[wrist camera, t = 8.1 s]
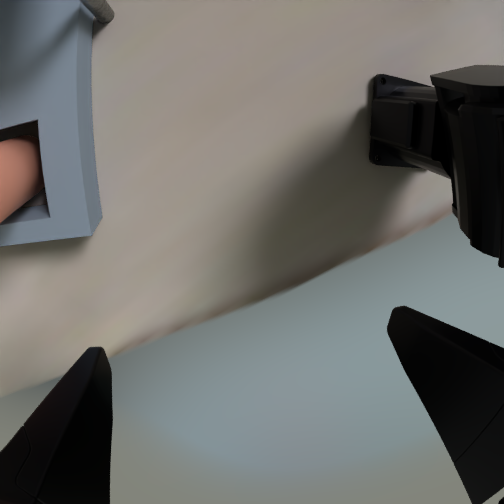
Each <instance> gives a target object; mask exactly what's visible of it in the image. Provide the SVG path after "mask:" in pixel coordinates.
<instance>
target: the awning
mask: <svg viewBox="0 0 504 504" xmlns="http://www.w3.org/2000/svg"><path fill="white" fill-rule="evenodd" d="M0 1H2V0H0ZM79 1H80V2H81V3H82V4H83V5H84V6H85V7H86V8H87V9H88V10H89V11H90V12H91V13H92V14H93V15H94V16H95V17H96V18H97V20H98V21H99V22H101V23H108V22H110V21H111V20H112V19H113V18H114V11H113V10H112V8H111V7H110V6H109V4H108V3H107V1H106V0H79Z"/></svg>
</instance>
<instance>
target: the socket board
mask: <svg viewBox="0 0 504 504" xmlns="http://www.w3.org/2000/svg"><path fill="white" fill-rule="evenodd" d="M93 16H94V15H93V14H92V13H91V12H90V11H89V10H88V9H87V8H86V7H85V6H84V5H83V4H82V3H81V2H80V1H79V0H2V1H0V130H4V129H7V128H11V127H15V126H18V125H22V124H26V123H30V122H34V121H38V128H39V141H40V151H41V160H42V168H43V176H44V183H45V189H46V195H47V201H48V204H46V205H40V206H33V207H27V208H21V209H17V210H16V211H14V212H13V213H12V214H11V215H9V216H8V217H7V218H6V219H5V220H3V221H2V222H1V223H0V247H1V246H8V245H16V244H24V243H32V242H40V241H49V240H57V239H66V238H75V237H84V236H92V234H93V232H94V231H95V229H96V227H97V226H98V224H99V222H100V220H101V219H102V211H101V204H100V197H99V189H98V181H97V172H96V162H95V151H94V138H93V121H92V95H91V57H92V31H93Z"/></svg>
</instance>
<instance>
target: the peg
mask: <svg viewBox="0 0 504 504" xmlns="http://www.w3.org/2000/svg"><path fill="white" fill-rule="evenodd" d="M44 186H45V183H44V176H43V168H42V160H41V151H40V141H39V139H38V138H36V137H33V136H30V135H23V136H19V137H15V138H12V139H8V140H5V141H2V142H0V223H1V222H2V221H3V220H5V219H6V218H7V217H8V216H9V215H11V214H12V213H13V212H14V211H16V210H17V209H18V208H19V207H20V206H22V205H23V204H24V203H26V202H27V201H28V200H29V199H31V198H32V197H33V196H35V195H36V194H37V193H39V192H40V191H41V190H42V189H43V188H44Z"/></svg>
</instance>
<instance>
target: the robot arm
mask: <svg viewBox="0 0 504 504" xmlns="http://www.w3.org/2000/svg"><path fill="white" fill-rule="evenodd" d="M381 78H382V80H383V83H382V84H381V82H380V79H381ZM430 78H431V81H432V85H434V86H435V87H431V86H427V85H424V84H420V83H417V82H413V81H409V80H406V79H402V78H398V77H393V76H389V75H385V74H377V75H376V76H375V77H374V93H373V101H372V116H371V131H370V135H371V143H370V155H369V159H370V162H371V163H372V164H375V165H382V166H398V167H412V168H423V169H426V170H429V171H431V172H434V173H436V174H439V175H442V176H444V177H447V178H449V179H451V183H452V193H453V204H452V212H453V214H454V215H455V216H456V217H457V218H458V221H459V225H460V229H461V230H462V231H463V232H464V234H465V235H466V236H467V237H468V238H469V239H470V245H471V246H472V247H474V248H476V249H477V250H479V251H481V252H482V253H484V254H487V255H490V256H492V257H496V258H499V261H498V266H499V267H501V268H504V66H499V65H474V66H469V67H464V68H459V69H455V70H450V71H446V72H442V73H438V74H434V75H430ZM377 155H378V159H377V160H375V157H376V156H377ZM387 332H388V335H389V337H390V340H391V342H392V344H393V346H394V348H395V350H396V353H397V355H398V357H399V359H400V362H401V364H402V366H403V368H404V370H405V372H406V374H407V376H408V378H409V379H410V381H411V383H412V385H413V386H414V388H415V390H416V392H417V394H418V395H419V397H420V399H421V401H422V403H423V405H424V406H425V408H426V410H427V412H428V414H429V416H430V418H431V420H432V422H433V423H434V425H435V427H436V429H437V431H438V433H439V435H440V437H441V439H442V441H443V443H444V445H445V447H446V449H447V451H448V453H449V455H450V457H451V459H452V461H453V462H454V466H455V468H456V470H457V472H458V474H459V476H460V478H461V480H462V482H463V485H464V487H465V489H466V491H467V493H468V496H469V498H470V500H471V503H472V504H482V503H484V502H485V501H486V500H488V499H489V498H490V497H492V496H493V495H494V494H496V493H497V492H498V491H500V490H501V489H502V488H503V487H504V348H502V347H500V346H498V345H495V344H493V343H489V342H488V341H486V340H483V339H481V338H479V337H477V336H474V335H472V334H470V333H467V332H465V331H462V330H460V329H458V328H456V327H453V326H451V325H449V324H446V323H444V322H442V321H440V320H437V319H435V318H432V317H430V316H428V315H425V314H423V313H421V312H418V311H416V310H414V309H411V308H409V307H407V306H400V307H395V308H394V309H393V310H392V313H391V316H390V319H389V323H388V326H387ZM112 425H113V410H112V372H111V367H110V364H109V362H108V359H107V356H106V353H105V351H104V349H103V348H102V347H89V348H88V349H87V350H86V351H85V352H84V353H83V354H82V356H81V357H80V358H79V359H78V360H77V361H76V362H75V364H74V365H73V366H72V367H71V368H70V369H69V370H68V372H67V373H66V374H65V375H64V376H63V377H62V379H61V380H60V381H59V382H58V383H57V384H56V386H55V387H54V388H53V389H52V390H51V391H50V393H49V394H48V395H47V396H46V397H45V399H44V400H43V401H42V402H41V403H40V405H39V406H38V407H37V408H36V410H35V411H34V412H33V413H32V414H31V416H30V417H29V418H28V419H27V421H26V422H25V423H24V426H22V427H21V428H20V429H19V430H18V432H17V433H16V434H15V435H14V437H13V438H12V439H11V440H10V442H9V443H8V444H7V445H6V446H5V447H4V448H3V450H1V452H0V504H110V462H111V440H112ZM498 504H504V497H503V498H502V499H501V500H500V501H499V503H498Z"/></svg>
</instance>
